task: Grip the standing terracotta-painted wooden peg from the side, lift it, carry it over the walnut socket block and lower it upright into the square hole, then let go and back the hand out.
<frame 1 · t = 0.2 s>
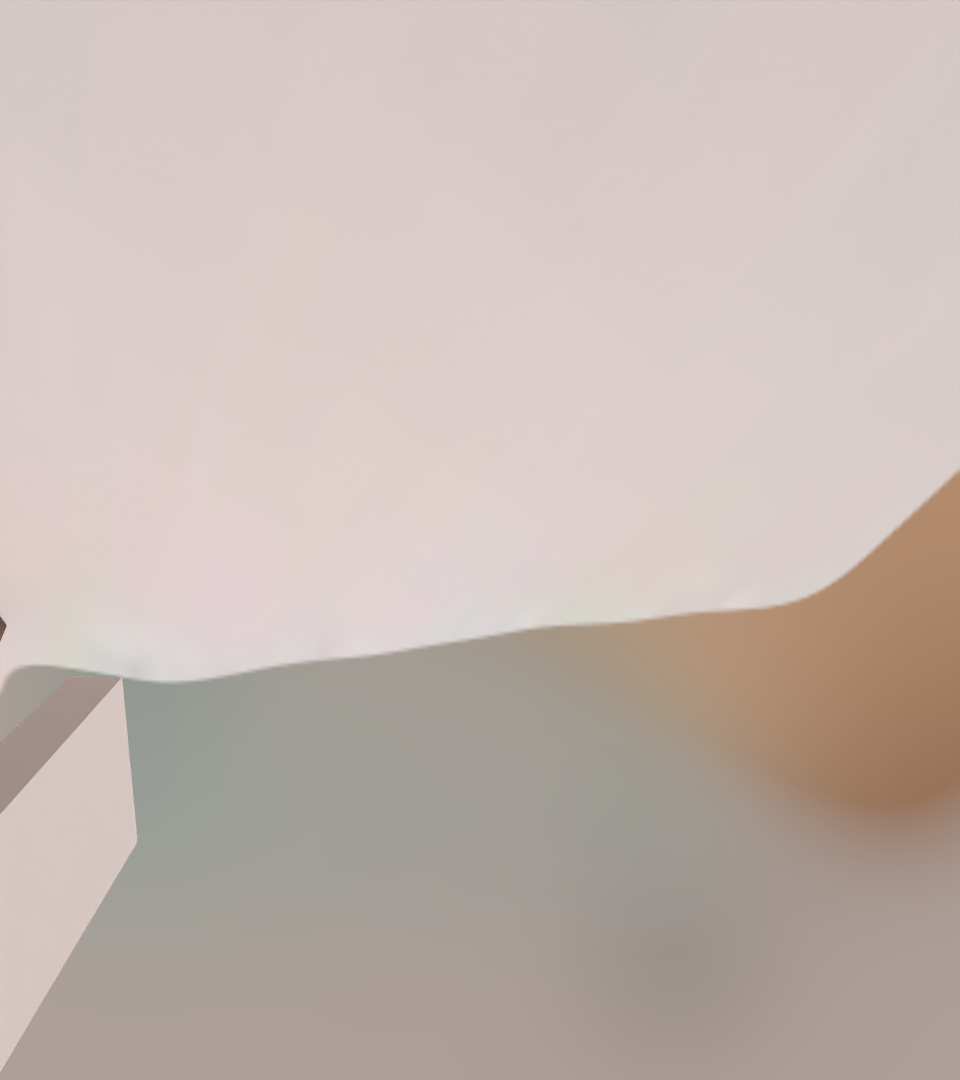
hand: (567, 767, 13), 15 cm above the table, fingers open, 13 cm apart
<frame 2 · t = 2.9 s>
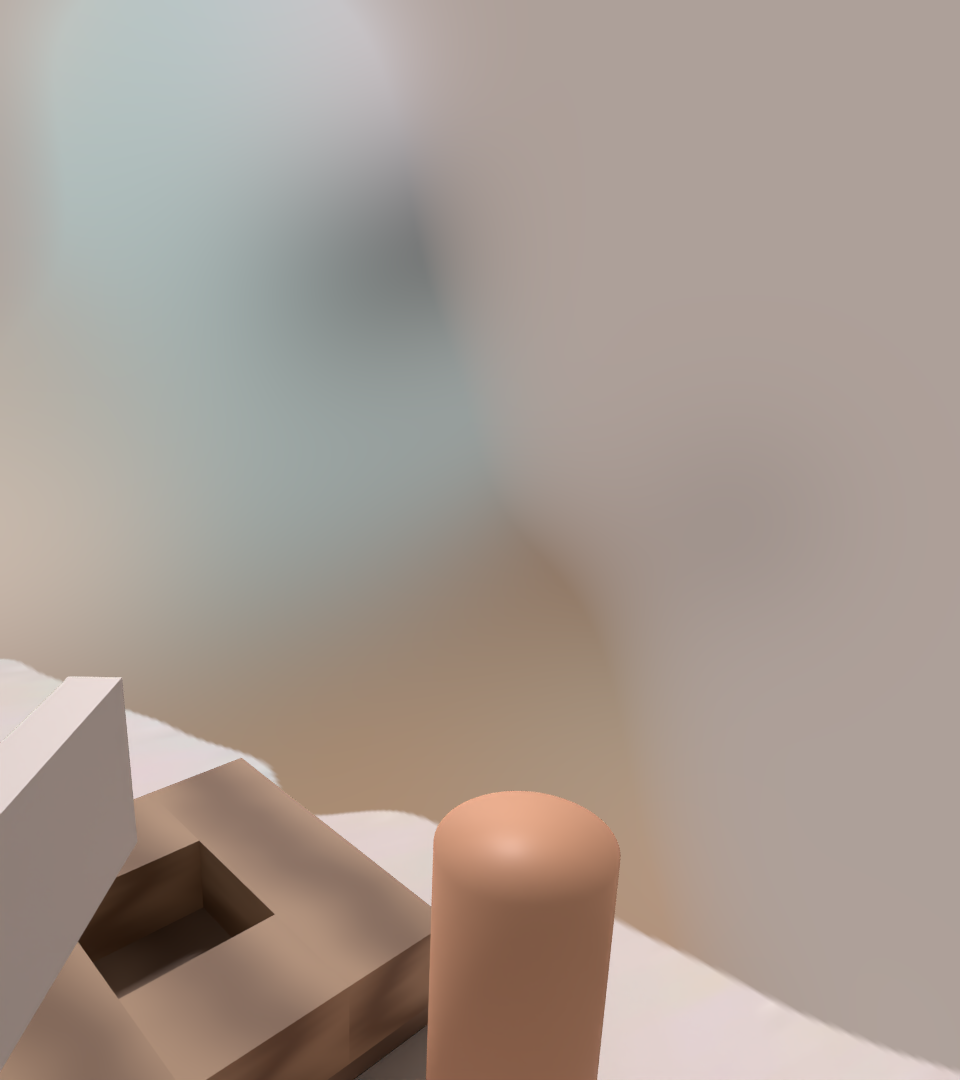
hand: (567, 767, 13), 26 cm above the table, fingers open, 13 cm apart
socket block: (170, 999, 40), on the table
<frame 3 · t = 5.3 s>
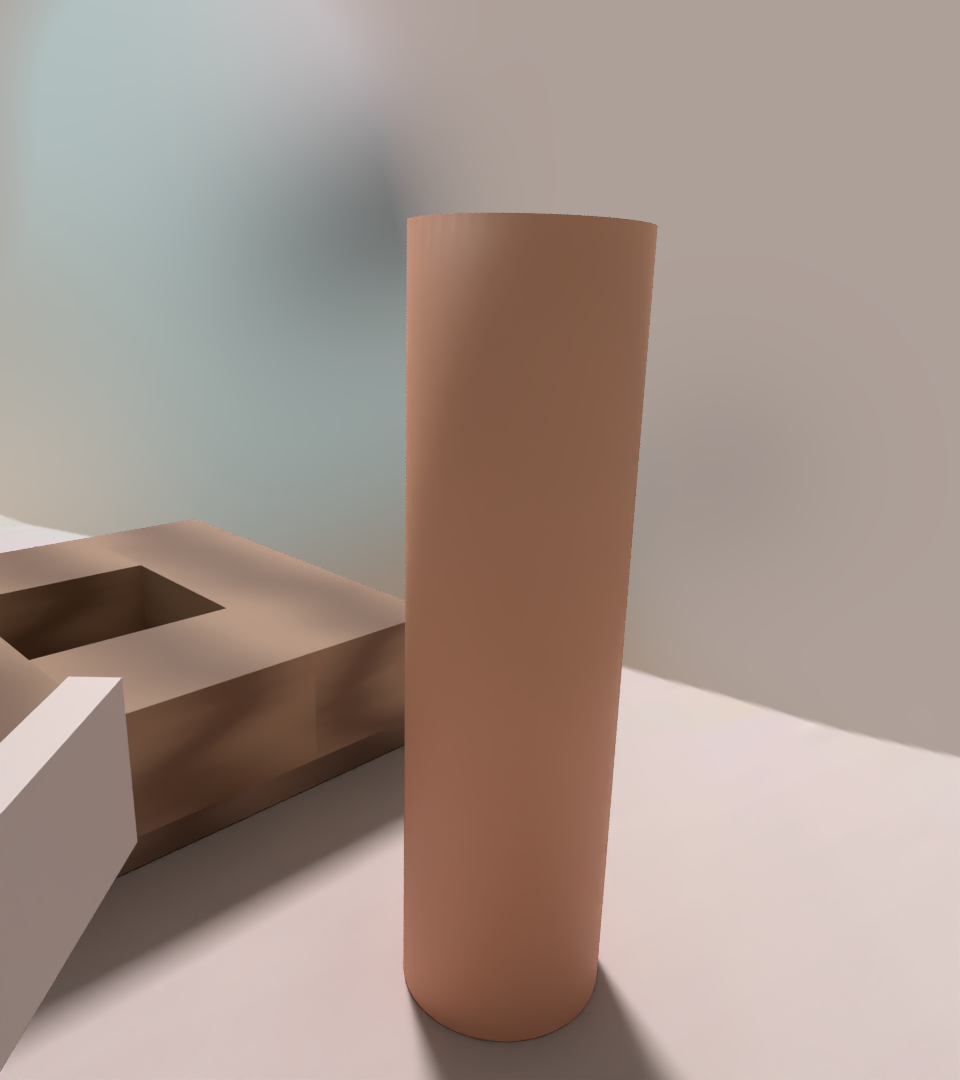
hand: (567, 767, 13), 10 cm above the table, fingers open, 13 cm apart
socket block: (105, 726, 33), on the table
peg: (499, 960, 22), on the table
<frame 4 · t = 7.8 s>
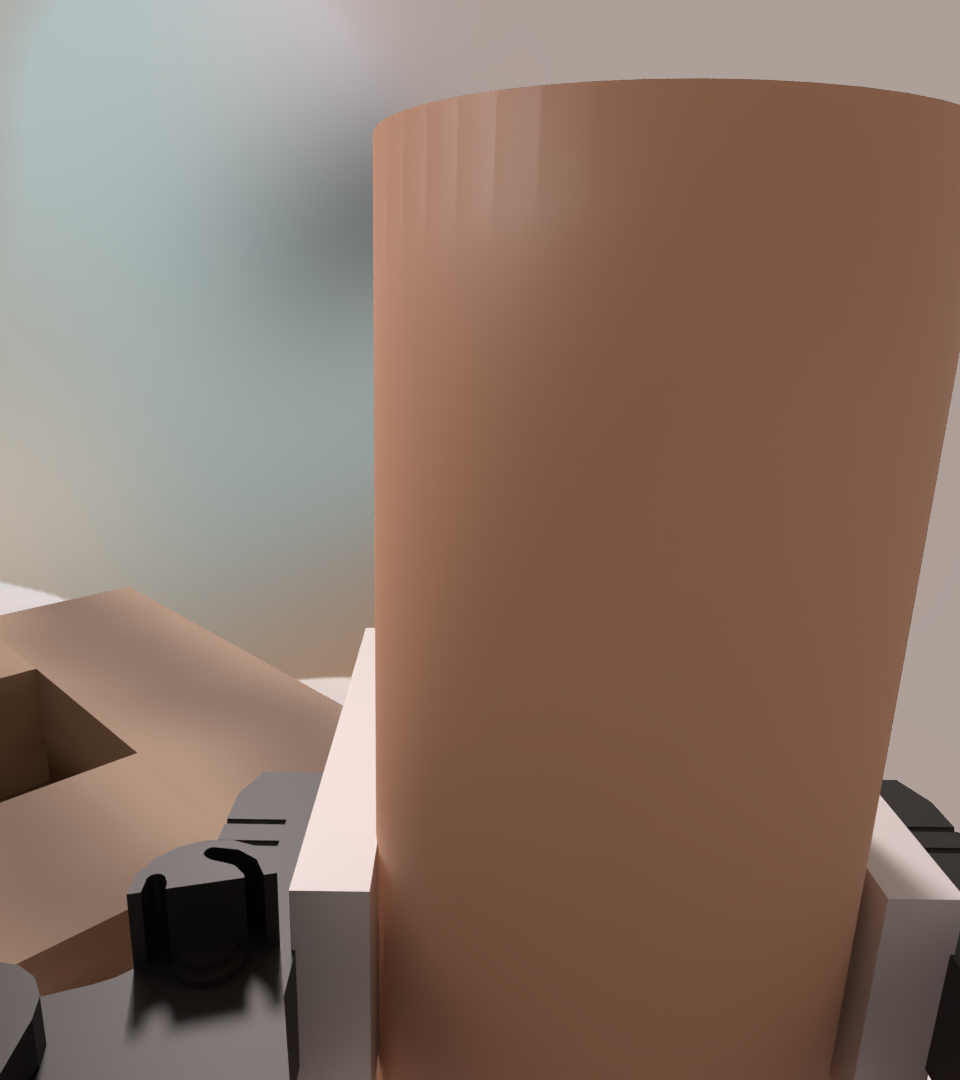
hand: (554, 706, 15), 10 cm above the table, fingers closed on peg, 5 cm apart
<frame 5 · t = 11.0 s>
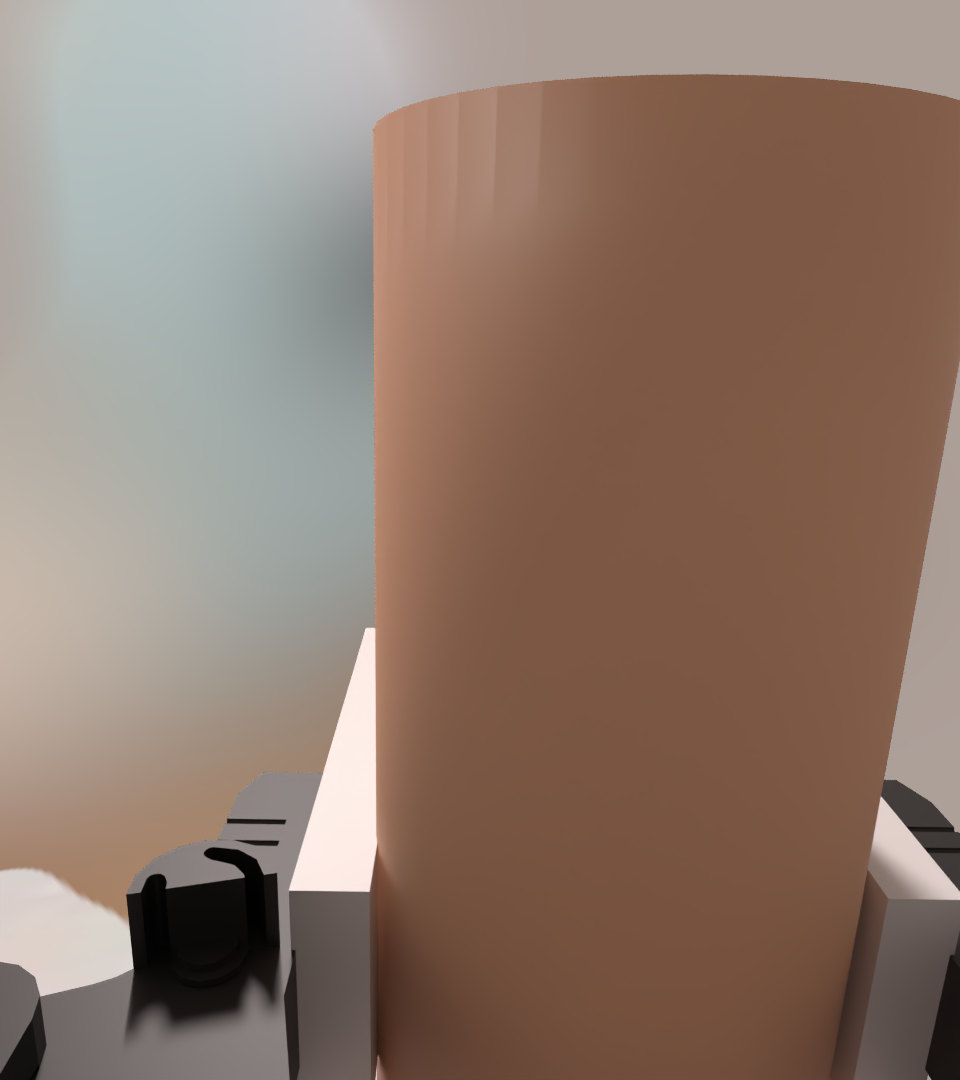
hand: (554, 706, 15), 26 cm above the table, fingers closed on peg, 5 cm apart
when the fingers open (12 cm above the table, at t = 14.5 s): peg drops 1 cm, resting on socket block.
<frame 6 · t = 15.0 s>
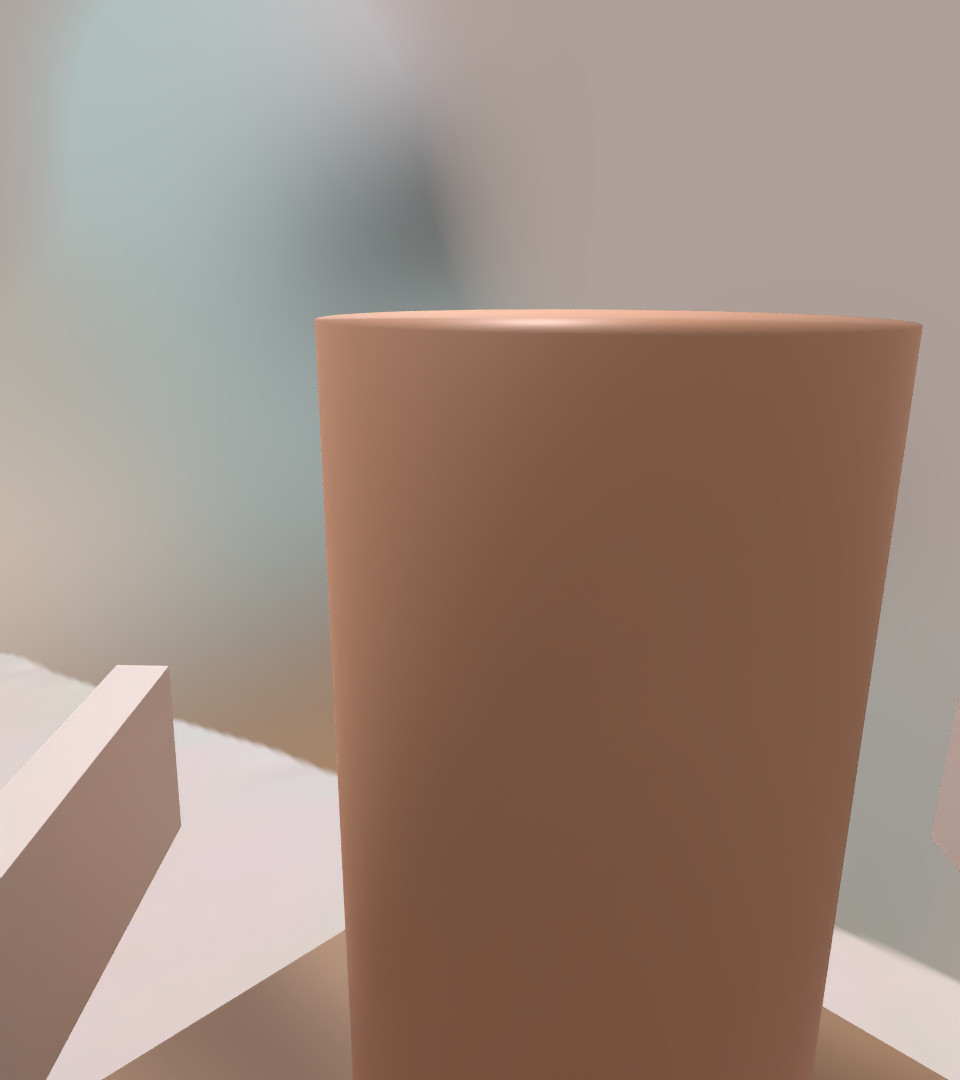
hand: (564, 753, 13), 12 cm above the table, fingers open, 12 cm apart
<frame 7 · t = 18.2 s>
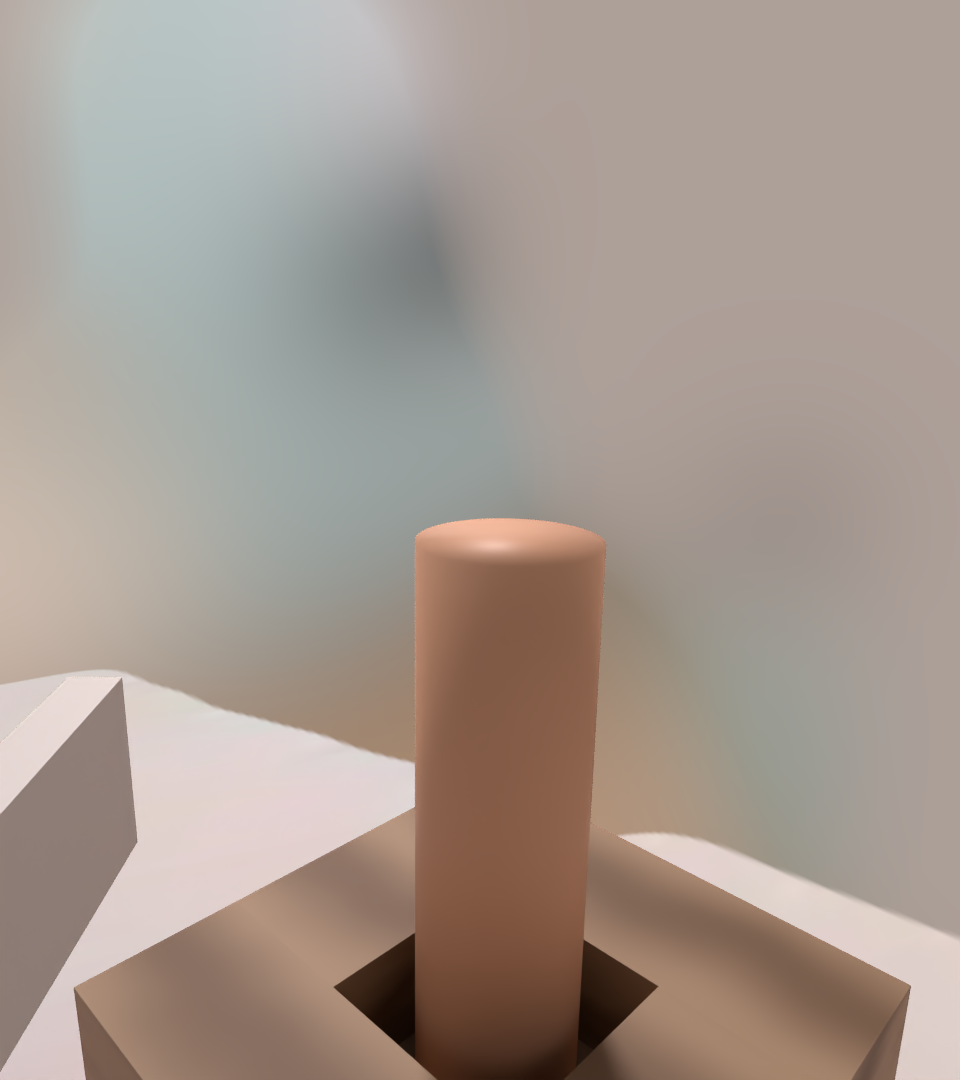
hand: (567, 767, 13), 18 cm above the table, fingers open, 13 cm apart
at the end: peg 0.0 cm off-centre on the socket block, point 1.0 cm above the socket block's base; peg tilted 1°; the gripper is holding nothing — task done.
